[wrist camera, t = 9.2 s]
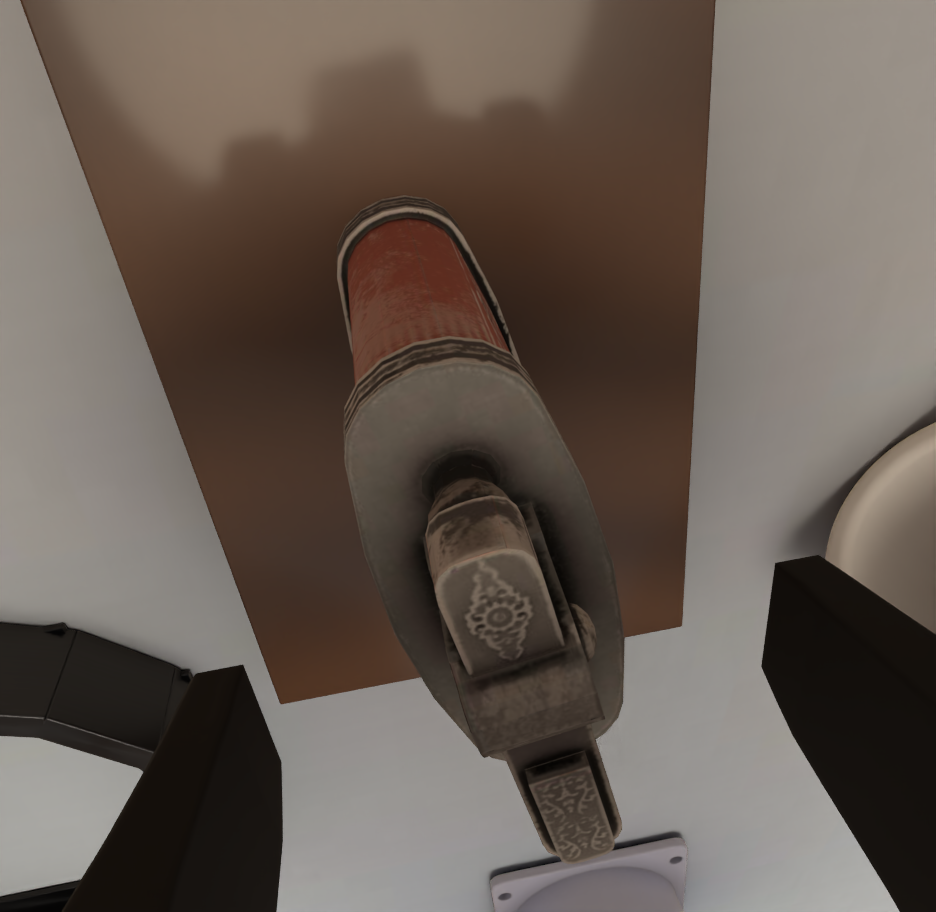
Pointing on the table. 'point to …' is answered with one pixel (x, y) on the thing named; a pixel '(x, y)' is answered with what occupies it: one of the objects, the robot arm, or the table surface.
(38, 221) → the table surface
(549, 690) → the lighter
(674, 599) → the board
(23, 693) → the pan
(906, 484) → the mug
